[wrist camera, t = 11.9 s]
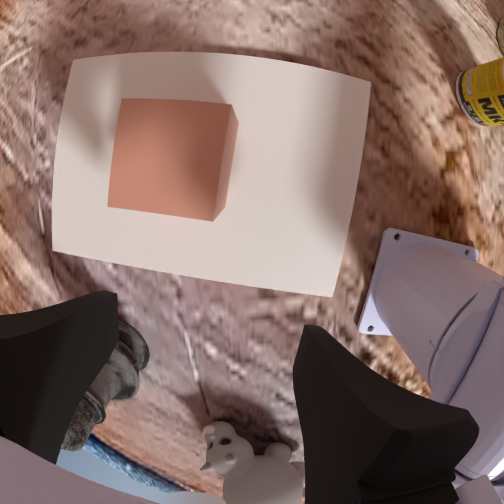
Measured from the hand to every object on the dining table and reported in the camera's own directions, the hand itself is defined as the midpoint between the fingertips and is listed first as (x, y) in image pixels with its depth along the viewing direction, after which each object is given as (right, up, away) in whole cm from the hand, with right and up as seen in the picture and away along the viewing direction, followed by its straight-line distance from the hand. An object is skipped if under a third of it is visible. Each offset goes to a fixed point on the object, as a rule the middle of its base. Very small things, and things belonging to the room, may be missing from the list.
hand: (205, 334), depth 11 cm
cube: (-2, +8, +6) cm, 10 cm away
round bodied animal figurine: (+2, -16, +14) cm, 21 cm away
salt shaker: (-9, -5, +11) cm, 15 cm away
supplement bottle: (+19, +15, +5) cm, 25 cm away
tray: (-2, +9, +7) cm, 12 cm away
